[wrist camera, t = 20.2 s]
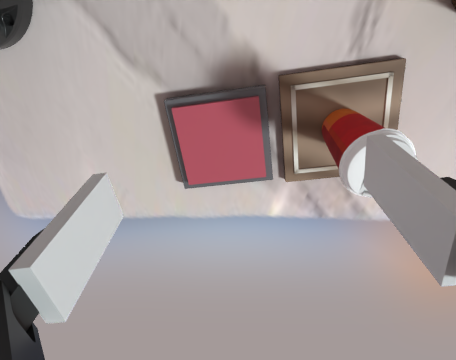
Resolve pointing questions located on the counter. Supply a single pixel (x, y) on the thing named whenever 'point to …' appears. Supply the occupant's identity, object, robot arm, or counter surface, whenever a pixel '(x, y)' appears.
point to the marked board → (327, 103)
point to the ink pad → (221, 136)
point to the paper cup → (355, 145)
